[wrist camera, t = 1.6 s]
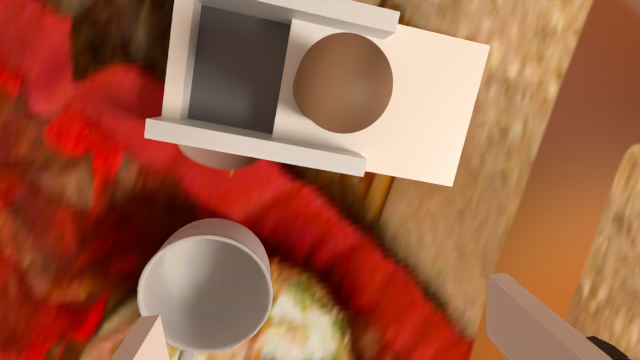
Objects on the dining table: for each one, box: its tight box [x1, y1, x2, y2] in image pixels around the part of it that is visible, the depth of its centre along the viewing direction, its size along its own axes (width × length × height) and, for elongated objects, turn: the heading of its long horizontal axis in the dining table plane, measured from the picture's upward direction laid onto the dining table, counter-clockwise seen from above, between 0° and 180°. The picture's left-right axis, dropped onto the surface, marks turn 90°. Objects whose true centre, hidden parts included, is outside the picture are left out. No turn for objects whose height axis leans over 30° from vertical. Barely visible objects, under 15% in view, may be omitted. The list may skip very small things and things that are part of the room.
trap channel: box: [144, 0, 490, 186], centre depth 32 cm, size 27×13×6 cm, turn 79°
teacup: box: [137, 218, 273, 360], centre depth 34 cm, size 14×11×8 cm
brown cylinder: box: [293, 32, 393, 134], centre depth 27 cm, size 6×6×10 cm
